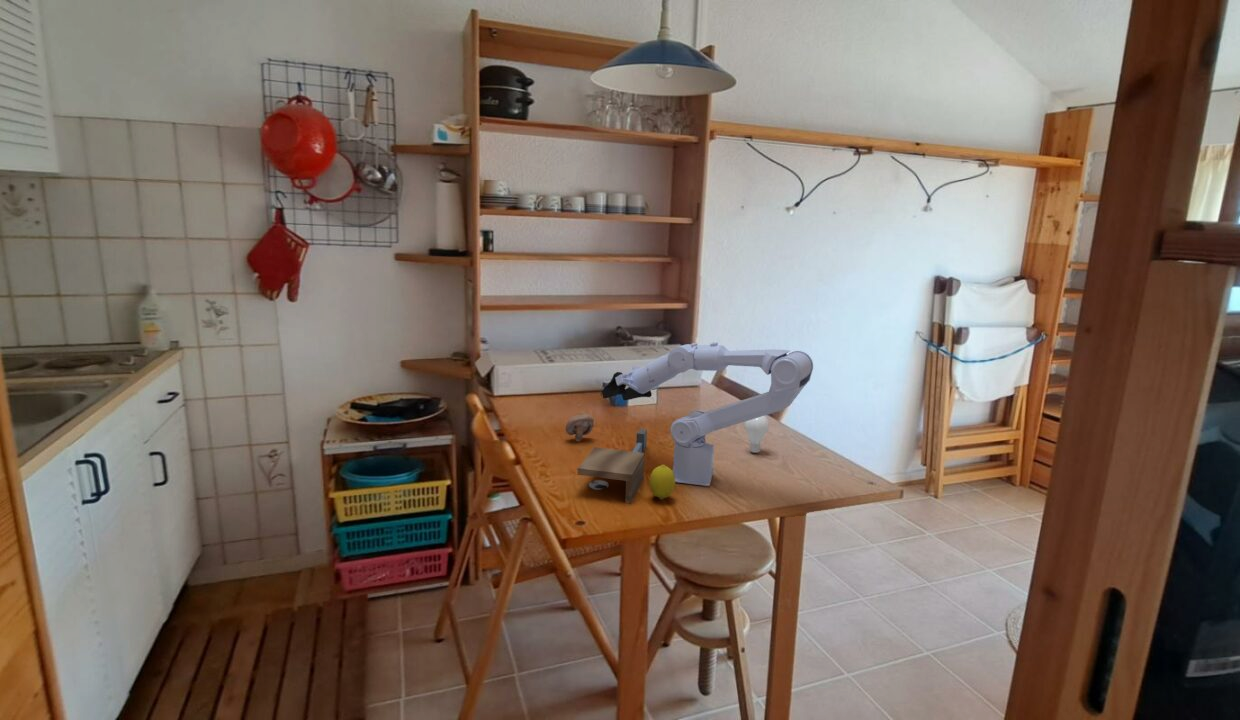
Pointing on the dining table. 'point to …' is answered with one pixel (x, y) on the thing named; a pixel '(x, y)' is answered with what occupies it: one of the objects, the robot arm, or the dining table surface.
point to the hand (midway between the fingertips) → (613, 395)
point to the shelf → (615, 467)
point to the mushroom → (579, 425)
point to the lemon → (662, 481)
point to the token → (598, 485)
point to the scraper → (641, 441)
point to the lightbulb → (756, 432)
